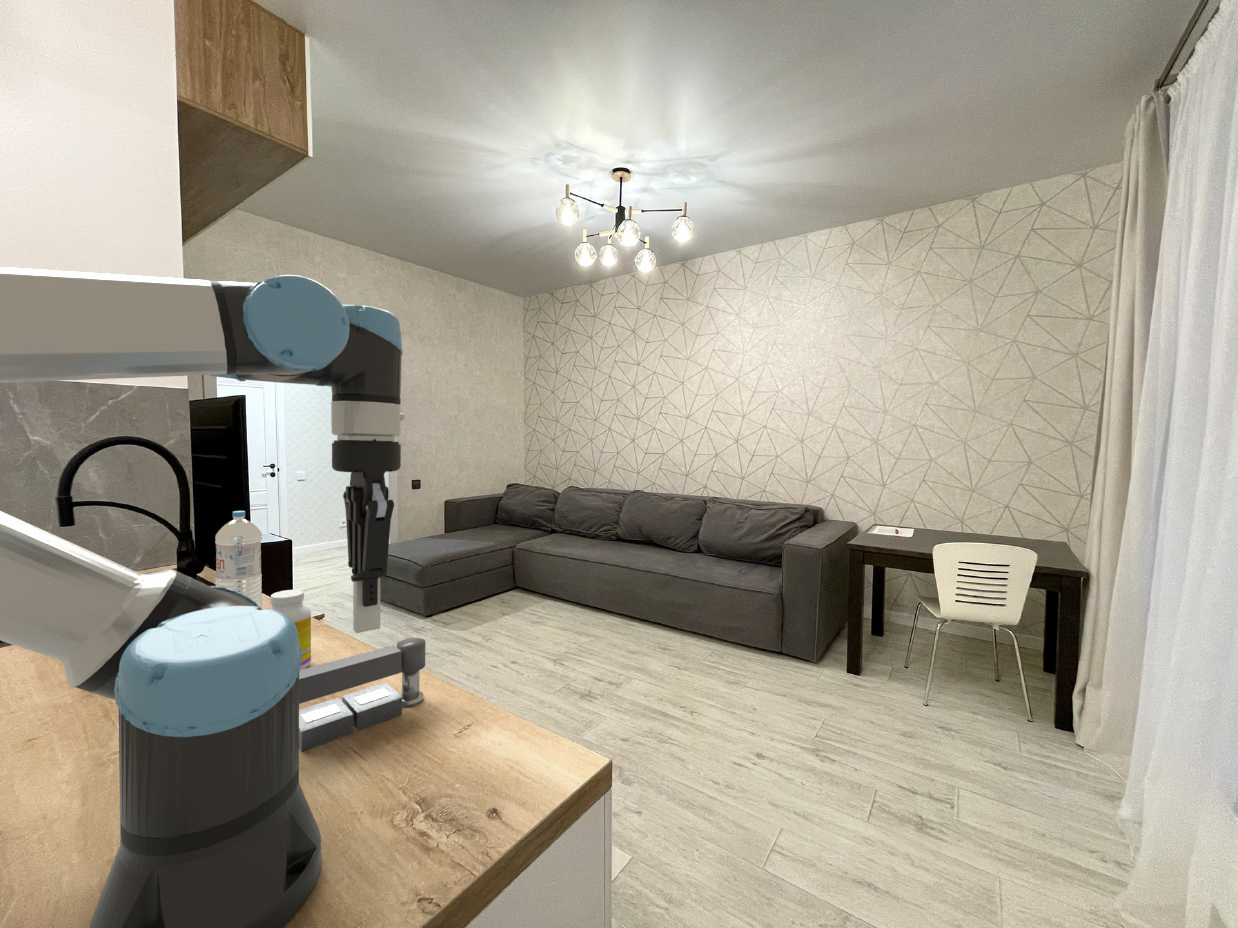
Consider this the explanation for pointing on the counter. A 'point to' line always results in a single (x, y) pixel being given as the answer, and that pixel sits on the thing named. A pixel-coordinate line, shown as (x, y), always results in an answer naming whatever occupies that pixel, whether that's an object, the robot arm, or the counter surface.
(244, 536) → the water bottle
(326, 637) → the counter surface
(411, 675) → the pivot post
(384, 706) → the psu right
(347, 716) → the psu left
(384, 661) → the cable arm
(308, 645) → the supplement bottle
